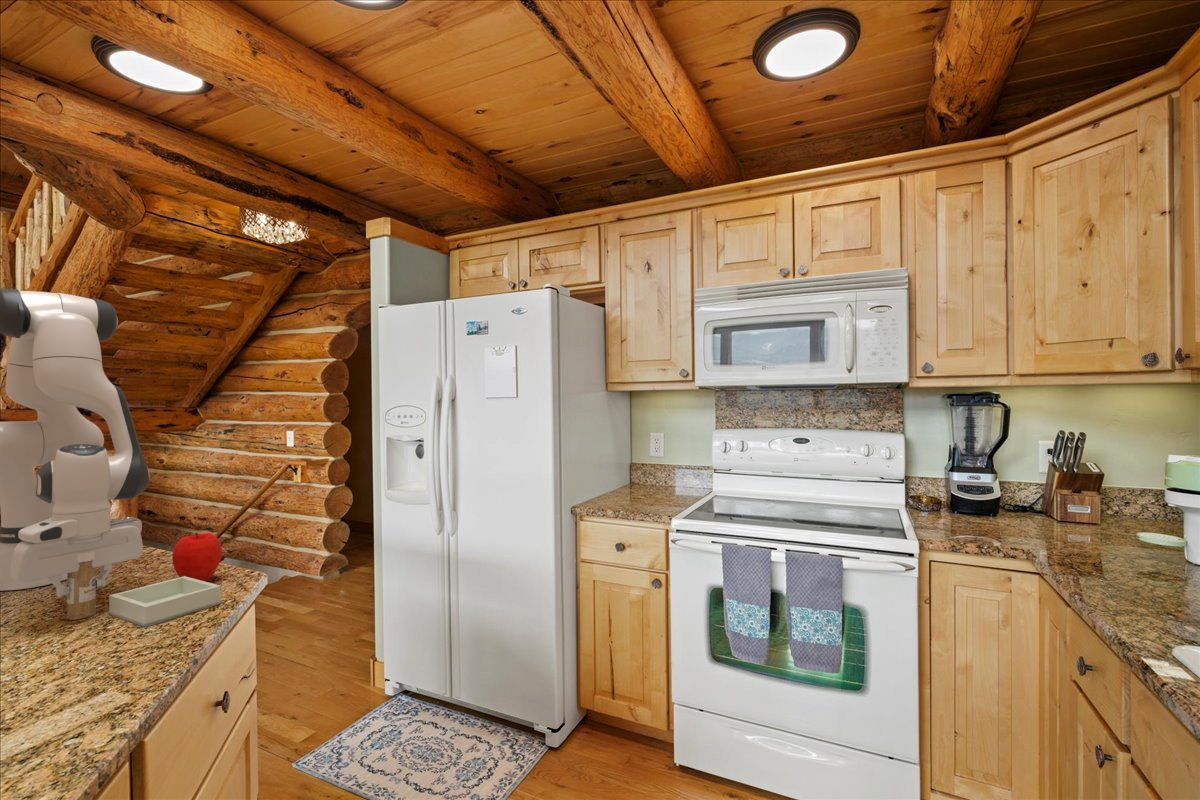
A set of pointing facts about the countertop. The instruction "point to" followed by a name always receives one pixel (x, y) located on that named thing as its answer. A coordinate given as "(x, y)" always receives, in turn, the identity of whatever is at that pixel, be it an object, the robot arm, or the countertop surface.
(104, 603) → the countertop surface
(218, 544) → the apple
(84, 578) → the sprinkles bottle
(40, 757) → the countertop surface
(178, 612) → the bin
